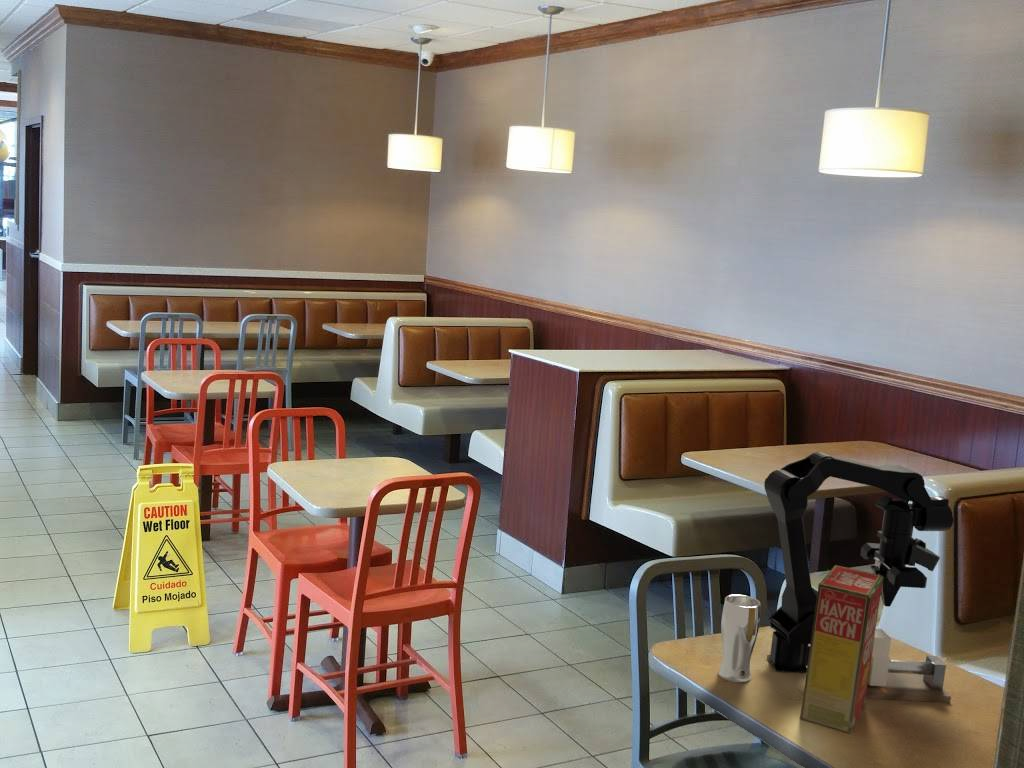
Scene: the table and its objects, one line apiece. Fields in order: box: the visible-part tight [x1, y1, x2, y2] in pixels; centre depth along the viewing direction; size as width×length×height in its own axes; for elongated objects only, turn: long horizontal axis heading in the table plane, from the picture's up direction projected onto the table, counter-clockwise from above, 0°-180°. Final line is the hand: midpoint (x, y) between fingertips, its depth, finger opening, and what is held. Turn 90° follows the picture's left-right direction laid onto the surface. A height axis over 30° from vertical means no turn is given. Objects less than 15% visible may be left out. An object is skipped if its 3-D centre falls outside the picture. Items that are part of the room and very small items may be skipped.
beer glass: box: [717, 594, 761, 684], centre depth 194 cm, size 7×7×15 cm
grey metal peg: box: [888, 655, 947, 690], centre depth 194 cm, size 17×4×5 cm, turn 92°
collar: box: [868, 628, 892, 686], centre depth 194 cm, size 3×6×9 cm, turn 2°
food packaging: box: [799, 564, 884, 735], centre depth 181 cm, size 13×9×25 cm
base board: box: [866, 673, 952, 703], centre depth 195 cm, size 18×9×1 cm, turn 92°
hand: (886, 605), depth 205 cm, fingers closed
